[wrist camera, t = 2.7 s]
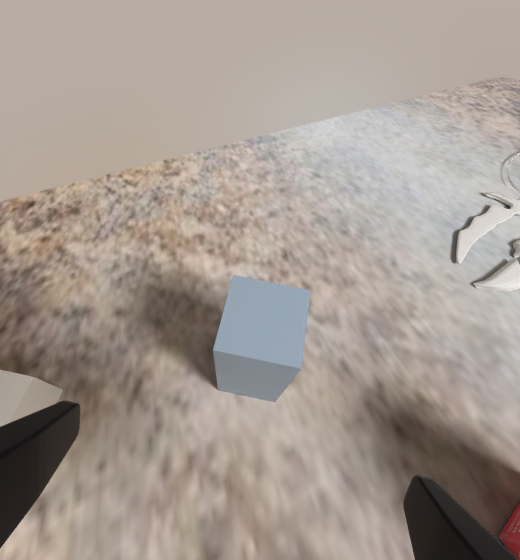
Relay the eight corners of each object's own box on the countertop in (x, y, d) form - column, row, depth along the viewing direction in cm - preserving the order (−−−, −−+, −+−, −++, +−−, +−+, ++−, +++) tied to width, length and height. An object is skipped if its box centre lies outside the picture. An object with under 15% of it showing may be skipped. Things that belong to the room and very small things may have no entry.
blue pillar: (283, 346, 24) (310, 290, 16) (274, 402, 22) (301, 368, 14) (231, 336, 24) (233, 274, 16) (217, 390, 22) (212, 350, 14)
